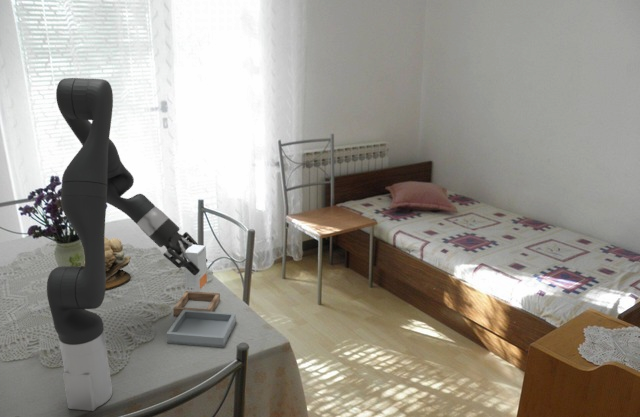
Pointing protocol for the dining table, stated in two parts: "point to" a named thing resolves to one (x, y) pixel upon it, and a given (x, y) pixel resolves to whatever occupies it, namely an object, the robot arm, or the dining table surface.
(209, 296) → the socket block
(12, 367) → the dining table surface
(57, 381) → the dining table surface
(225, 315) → the tray
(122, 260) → the beige lumpy sculpture
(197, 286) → the skincare box
